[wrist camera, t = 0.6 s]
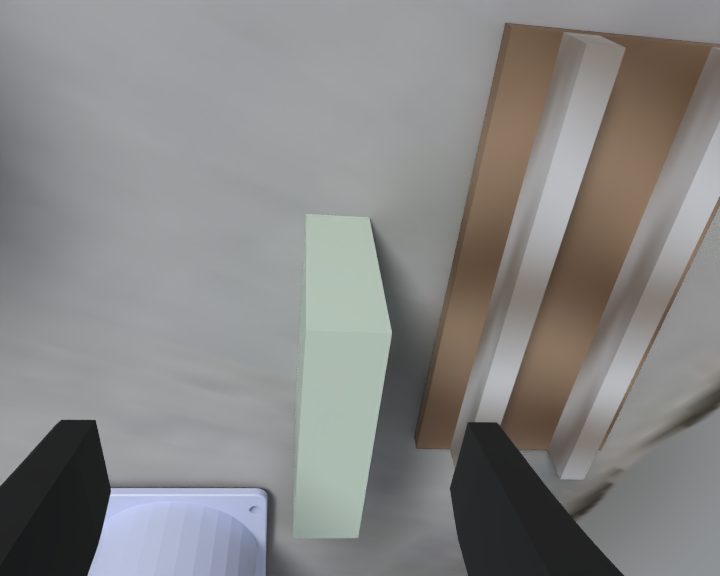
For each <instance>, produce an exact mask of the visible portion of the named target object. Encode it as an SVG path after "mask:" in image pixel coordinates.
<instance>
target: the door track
mask: <svg viewBox="0 0 720 576" xmlns="http://www.w3.org/2000/svg"><path fill="white" fill-rule="evenodd" d="M719 206H720V44H711V43H701V42H691V41H681V40H671V39H661V38H651V37H641V36H631V35H621V34H611V33H601V32H591V31H581V30H571V29H561V28H551V27H541V26H531V25H521V24H511V23H506V24H505V28H504V33H503V37H502V42H501V46H500V51H499V55H498V60H497V64H496V69H495V73H494V78H493V83H492V87H491V92H490V96H489V101H488V105H487V110H486V114H485V119H484V123H483V128H482V132H481V137H480V142H479V146H478V151H477V155H476V160H475V164H474V169H473V173H472V178H471V182H470V187H469V191H468V196H467V201H466V205H465V210H464V214H463V219H462V223H461V228H460V232H459V237H458V241H457V246H456V250H455V255H454V260H453V264H452V269H451V273H450V278H449V282H448V287H447V291H446V296H445V300H444V305H443V309H442V314H441V319H440V323H439V328H438V332H437V337H436V341H435V346H434V350H433V355H432V359H431V364H430V368H429V373H428V378H427V382H426V387H425V391H424V396H423V400H422V405H421V409H420V414H419V418H418V423H417V427H416V432H415V436H414V438H415V443H416V448H417V449H450V451H451V455H452V459H453V463H454V467H455V468H456V464H457V460H458V457H459V453H460V449H461V445H462V442H463V438H464V434H465V430H466V427H467V423H468V422H497V423H498V424H499V425H500V426H501V428H502V429H503V430H504V432H505V433H506V434H507V436H508V437H509V438H510V440H511V441H512V442H513V444H514V445H515V446H516V448H517V449H518V450H548V453H549V455H550V457H551V460H552V462H553V464H554V467H555V469H556V471H557V473H558V476H559V478H560V479H580V480H584V478H585V476H586V474H587V472H588V470H589V468H590V466H591V464H592V462H593V459H594V457H595V455H596V453H597V451H598V450H602V448H603V445H604V443H605V441H606V439H607V437H608V435H609V433H610V431H611V429H612V427H613V425H614V423H615V421H616V419H617V417H618V414H619V412H620V410H621V408H622V406H623V404H624V402H625V400H626V398H627V396H628V394H629V392H630V390H631V388H632V385H633V383H634V381H635V379H636V377H637V375H638V373H639V371H640V369H641V367H642V365H643V363H644V361H645V359H646V357H647V354H648V352H649V350H650V348H651V346H652V344H653V342H654V340H655V338H656V336H657V334H658V332H659V330H660V328H661V326H662V323H663V321H664V319H665V317H666V315H667V313H668V311H669V309H670V307H671V305H672V303H673V301H674V299H675V297H676V295H677V292H678V290H679V288H680V286H681V284H682V282H683V280H684V278H685V276H686V274H687V272H688V270H689V268H690V266H691V264H692V261H693V259H694V257H695V255H696V253H697V251H698V249H699V247H700V245H701V243H702V241H703V239H704V237H705V235H706V233H707V230H708V228H709V226H710V224H711V222H712V220H713V218H714V216H715V214H716V212H717V210H718V208H719Z"/></svg>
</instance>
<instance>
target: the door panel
mask: <svg viewBox="0 0 720 576" xmlns="http://www.w3.org/2000/svg"><path fill="white" fill-rule="evenodd" d="M391 336H392V330H391V325H390V320H389V315H388V310H387V305H386V300H385V295H384V290H383V285H382V279H381V274H380V269H379V264H378V259H377V254H376V249H375V244H374V239H373V234H372V229H371V224H370V218H367V217H349V216H332V215H315V214H306V226H305V244H304V262H303V280H302V298H301V316H300V334H299V351H298V369H297V387H296V414H295V459H294V504H293V539H306V538H358V535H359V529H360V523H361V517H362V511H363V505H364V499H365V493H366V487H367V481H368V475H369V469H370V463H371V457H372V451H373V445H374V439H375V433H376V427H377V421H378V415H379V409H380V403H381V397H382V391H383V385H384V379H385V373H386V367H387V361H388V355H389V349H390V343H391Z"/></svg>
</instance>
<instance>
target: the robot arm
mask: <svg viewBox="0 0 720 576" xmlns="http://www.w3.org/2000/svg"><path fill="white" fill-rule="evenodd" d="M450 491H451V498H452V504H453V511H454V517H455V523H456V529H457V535H458V540H459V544H460V547H461V551H462V555H463V558H464V562H465V566H466V569H467V573H468V576H624V575H623V574H622V573H621V572H620V571H619V570H618V569H617V568H616V567H615V565H614V564H613V563H611V561H610V560H609V559H608V558H607V557H606V556H605V555H604V554H603V552H602V551H601V550H600V549H599V548H598V547H597V546H596V545H595V544H594V543H593V541H592V540H591V539H590V538H589V537H588V536H587V535H586V534H585V532H584V531H583V530H582V529H581V528H580V527H579V525H578V524H577V523H576V522H575V521H574V520H573V518H572V517H571V516H570V515H569V514H568V512H567V511H566V510H565V509H564V507H563V506H562V505H561V504H560V503H559V501H558V500H557V499H556V498H555V497H554V495H553V494H552V493H551V492H550V490H549V489H548V488H547V487H546V485H545V484H544V483H543V482H542V480H541V479H540V478H539V476H538V475H537V474H536V473H535V471H534V470H533V469H532V467H531V466H530V465H529V463H528V462H527V461H526V460H525V458H524V457H523V456H522V454H521V453H520V452H519V450H518V449H517V448H516V446H515V445H514V444H513V442H512V441H511V440H510V438H509V437H508V436H507V434H506V433H505V432H504V430H503V429H502V428H501V426H500V425H499V424H498V423H497V422H468V423H467V427H466V430H465V434H464V438H463V442H462V445H461V449H460V453H459V457H458V460H457V464H456V468H455V472H454V475H453V479H452V483H451V487H450ZM266 539H267V493H266V492H265V491H264V490H262V489H259V488H110V483H109V479H108V474H107V470H106V465H105V461H104V456H103V452H102V447H101V443H100V438H99V434H98V429H97V425H96V420H61V421H60V422H58V423H57V424H56V425H55V426H54V427H53V429H52V430H51V431H50V432H49V433H48V434H47V435H46V436H45V438H44V439H43V440H42V441H41V442H40V443H39V444H38V445H37V446H36V448H35V449H34V450H33V451H32V452H31V453H30V454H29V455H28V457H27V458H26V459H25V460H24V461H23V462H22V463H21V464H20V465H19V466H18V468H17V469H16V470H15V471H14V472H13V473H12V474H11V475H10V476H9V477H8V478H7V480H6V481H5V482H4V483H3V484H2V485H1V486H0V576H266Z"/></svg>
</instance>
